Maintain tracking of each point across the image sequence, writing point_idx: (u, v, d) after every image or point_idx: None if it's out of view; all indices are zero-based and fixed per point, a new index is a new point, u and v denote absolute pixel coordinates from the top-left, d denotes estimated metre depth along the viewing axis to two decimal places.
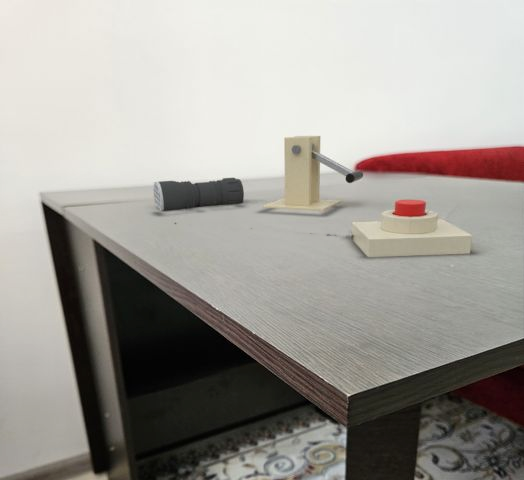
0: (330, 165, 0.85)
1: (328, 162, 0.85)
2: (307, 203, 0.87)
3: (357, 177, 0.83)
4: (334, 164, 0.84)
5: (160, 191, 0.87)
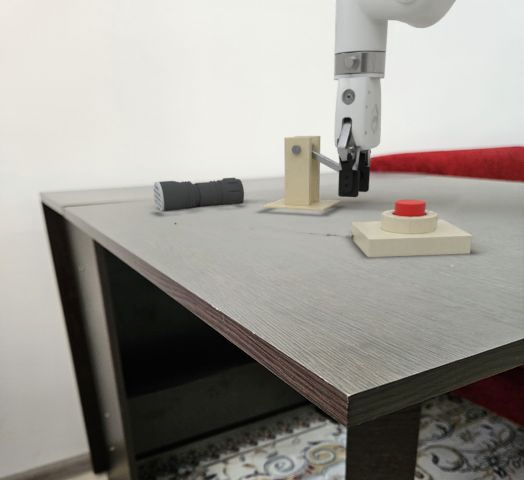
0: (330, 165, 0.85)
1: (328, 162, 0.85)
2: (307, 203, 0.87)
3: None
4: (334, 164, 0.84)
5: (160, 191, 0.86)
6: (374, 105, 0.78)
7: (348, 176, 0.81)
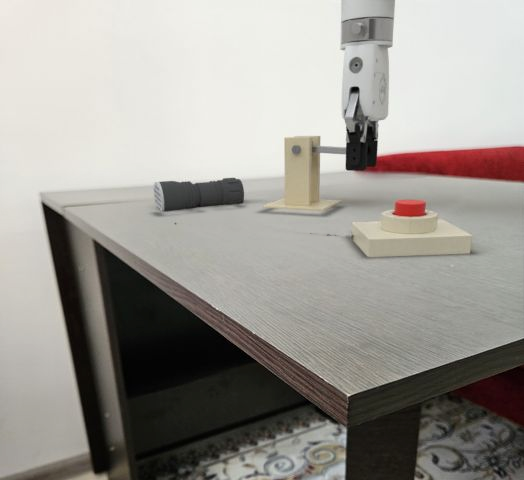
0: (334, 151, 0.84)
1: (331, 149, 0.84)
2: (307, 203, 0.87)
3: None
4: (337, 148, 0.83)
5: (161, 191, 0.86)
6: (382, 74, 0.76)
7: (356, 148, 0.79)
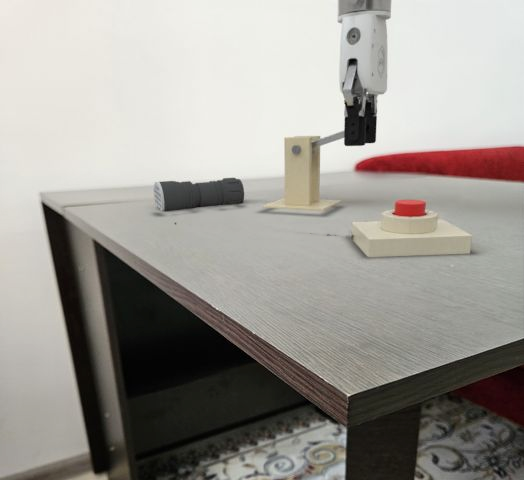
0: (333, 138, 0.83)
1: (330, 138, 0.83)
2: (307, 203, 0.87)
3: None
4: (336, 134, 0.82)
5: (161, 191, 0.86)
6: (380, 46, 0.75)
7: (354, 123, 0.77)
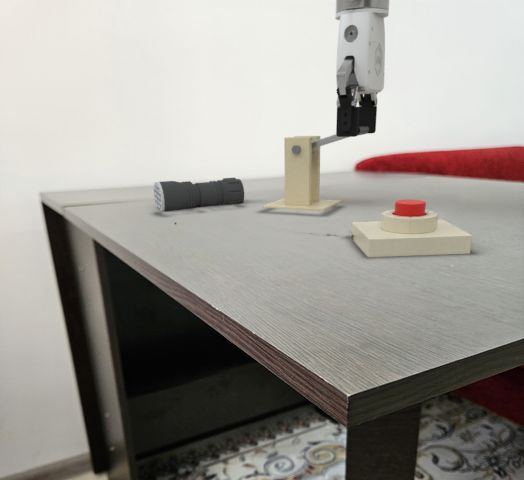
0: (333, 139, 0.83)
1: (330, 138, 0.83)
2: (307, 203, 0.87)
3: (362, 127, 0.80)
4: (336, 135, 0.83)
5: (161, 191, 0.86)
6: (378, 44, 0.75)
7: (347, 113, 0.76)
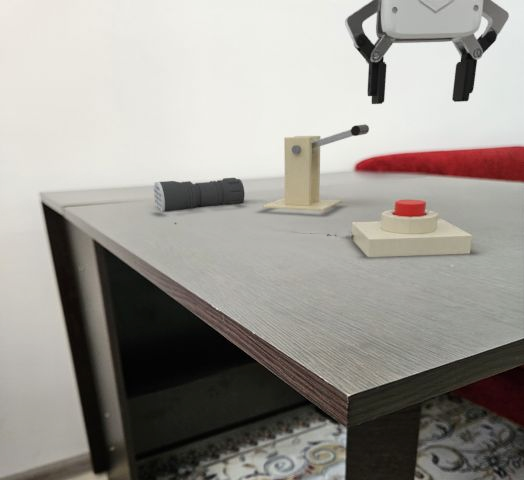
0: (333, 139, 0.83)
1: (330, 138, 0.83)
2: (307, 203, 0.87)
3: (362, 127, 0.80)
4: (336, 135, 0.83)
5: (161, 191, 0.86)
6: None
7: (370, 71, 0.57)
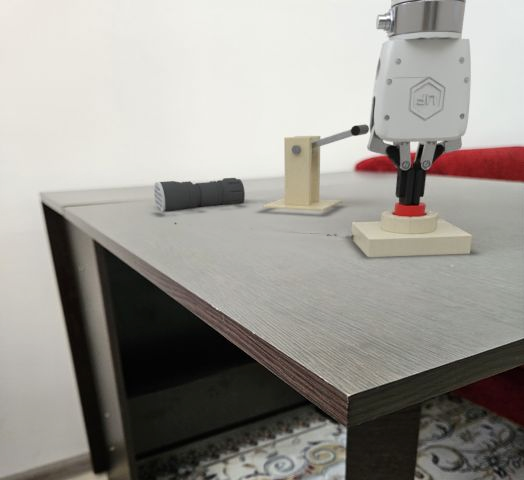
0: (333, 139, 0.83)
1: (330, 138, 0.83)
2: (307, 203, 0.87)
3: (362, 127, 0.80)
4: (336, 135, 0.83)
5: (162, 191, 0.86)
6: (421, 79, 0.55)
7: (399, 176, 0.62)
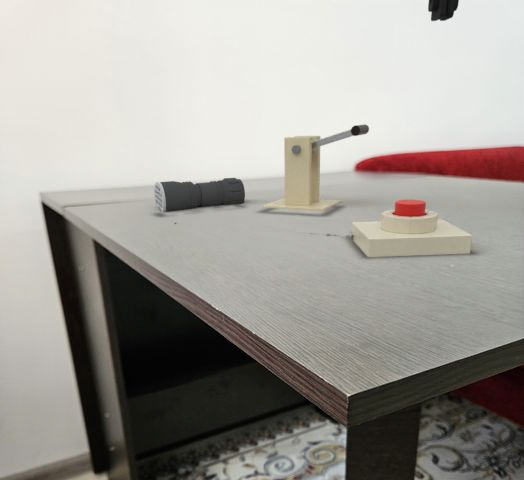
0: (333, 139, 0.83)
1: (330, 138, 0.83)
2: (307, 203, 0.87)
3: (362, 127, 0.80)
4: (336, 135, 0.83)
5: (162, 192, 0.86)
6: None
7: None
